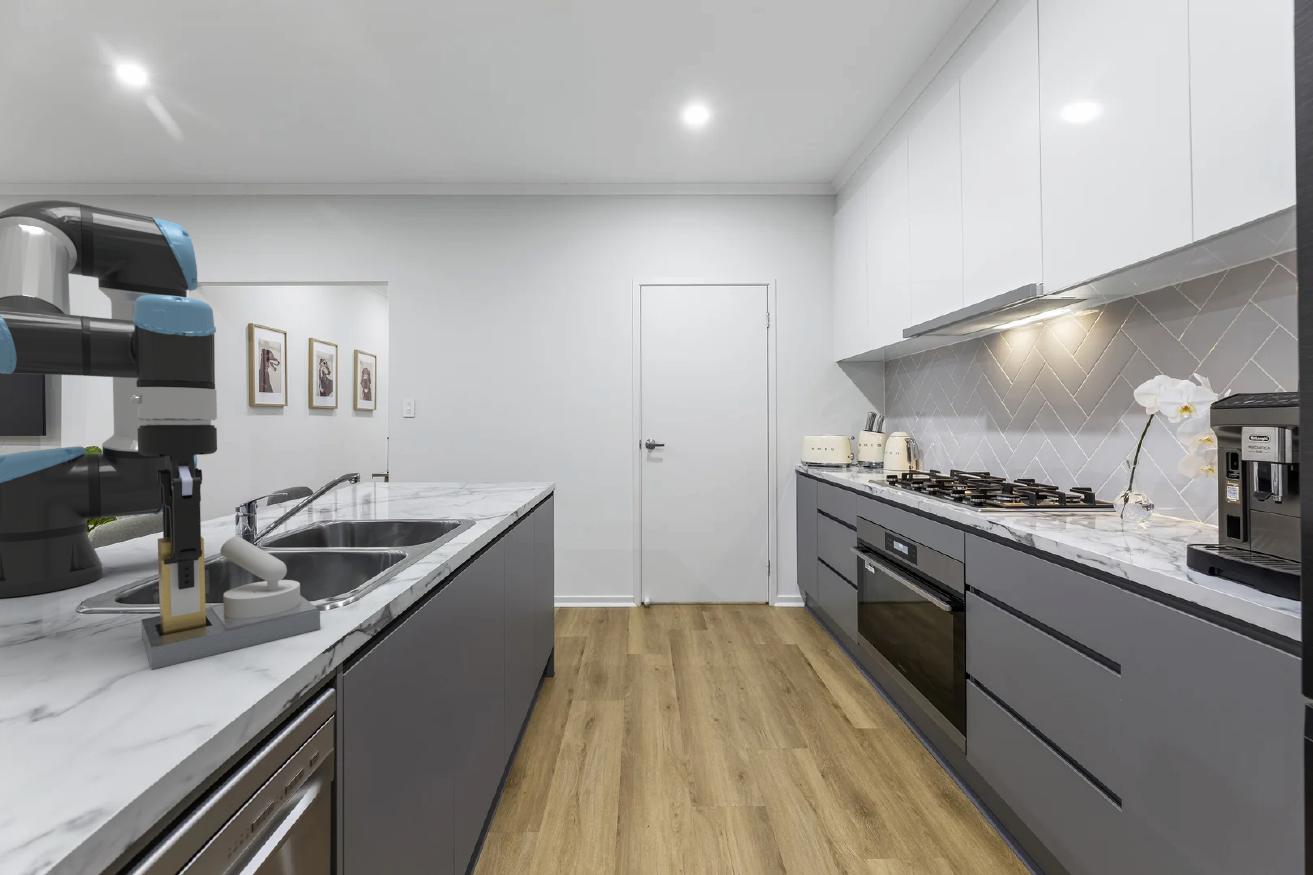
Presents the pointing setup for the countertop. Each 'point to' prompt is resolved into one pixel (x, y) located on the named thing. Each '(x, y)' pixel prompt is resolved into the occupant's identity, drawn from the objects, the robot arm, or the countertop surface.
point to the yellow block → (166, 621)
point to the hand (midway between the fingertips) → (183, 608)
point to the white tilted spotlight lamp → (258, 583)
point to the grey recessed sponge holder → (225, 633)
